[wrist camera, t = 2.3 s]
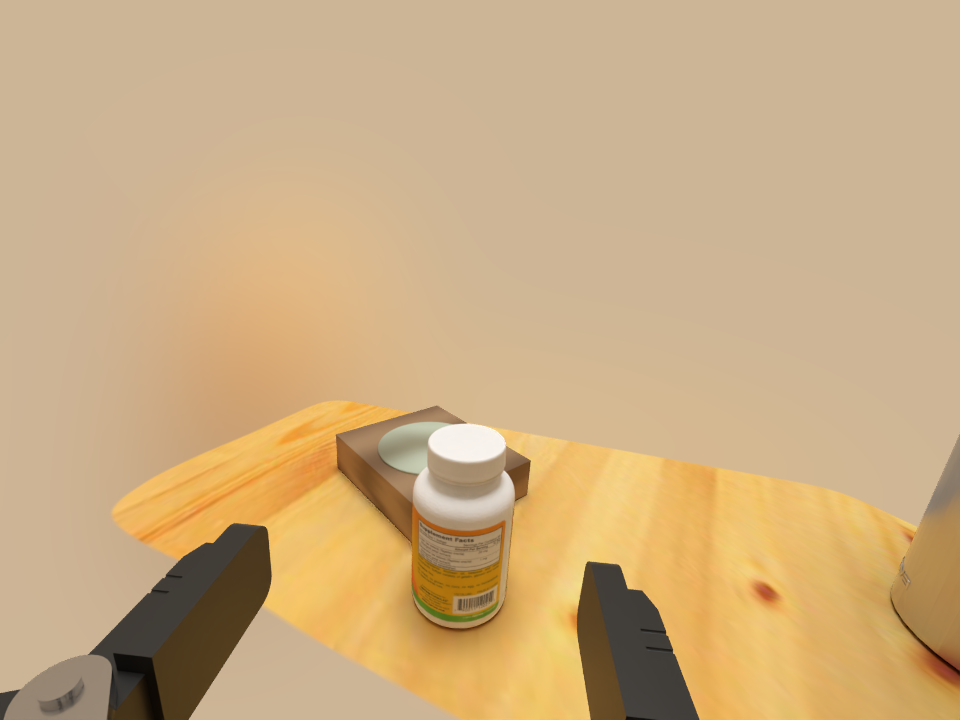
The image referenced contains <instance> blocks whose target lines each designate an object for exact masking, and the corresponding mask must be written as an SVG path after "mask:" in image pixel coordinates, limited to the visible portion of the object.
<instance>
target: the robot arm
mask: <svg viewBox="0 0 960 720" xmlns="http://www.w3.org/2000/svg"><path fill="white" fill-rule="evenodd" d="M271 577H272V575H271V562H270V551H269V539H268V531H267V529H266V527H264V526H257V525H248V524H238V523H234V524H232V525H230V526H229V527H228V528H227V529H226V530H225V531H224V532H223V533H222V534H221V536H220V537H219V538H218V539H217V540H216V541H215V542H214V543H205V544H203V545H201V546H200V547H198V548H197V549H195V550H193V551H192V552H190V553H189V554H187V555H185V556H184V557H183V558H182V559H181V560H180V561H179V562H178V563H177V564H176V565H175V566H174V567H173V568H172V569H171V570H170V571H169V572H168V573H167V574H166V577H165V578H162V579H161V580H160V581H159V583H157V584H156V586H154V588H153V589H152V591H151V593H148V594H147V595H146V596H145V597H144V598H143V599H142V600H141V601H140V602H139V603H138V604H137V605H136V606H135V607H134V608H133V609H132V610H131V611H130V612H129V613H128V614H127V615H126V616H125V618H123V620H122V621H121V622H120V623H119V624H118V625H117V626H116V627H115V628H114V629H113V630H112V631H111V632H110V633H109V634H108V635H107V636H106V637H105V638H104V639H103V640H102V641H101V642H100V643H99V644H98V645H97V646H96V647H95V649H93V650H92V651H91V652H90V654H88V655H83V656H78V657H74V658H71V659H68V660H65V661H63V662H60V663H58V664H56V665H54V666H52V667H50V668H48V669H47V670H45V671H43V672H42V673H40V674H39V675H37V676H36V677H35V678H33V679H32V680H31V681H30V682H28V683H27V684H26V685H25V686H24V687H23V688H22V689H21V690H16V691H10V692H5V693H0V720H189V718H190V716H191V715H192V713H193V712H194V710H195V709H196V707H197V706H198V704H199V702H200V701H201V699H202V698H203V696H204V695H205V693H206V692H207V690H208V689H209V687H210V685H211V684H212V682H213V681H214V679H215V678H216V676H217V675H218V673H219V671H220V670H221V668H222V667H223V665H224V664H225V662H226V661H227V659H228V657H229V656H230V654H231V653H232V651H233V650H234V648H235V646H236V645H237V643H238V642H239V640H240V639H241V637H242V636H243V634H244V632H245V631H246V629H247V628H248V626H249V625H250V623H251V621H252V620H253V619H254V617H255V616H256V614H257V612H258V611H259V609H260V608H261V606H262V605H263V603H264V601H265V599H266V597H267V595H268V592H269V589H270V584H271ZM891 599H892V601H893V604H894V607H895V609H896V611H897V612H898V614H899V615H900V617H901V618H902V620H903V621H904V622H905V623H906V625H907V626H908V627H909V628H910V629H911V630H912V631H913V632H914V633H915V634H916V636H917V637H918V638H919V639H921V640H922V641H923V642H924V643H925V644H926V645H927V646H928V647H930V648H931V649H932V650H933V651H934V652H935V653H936V654H938V655H939V656H940V657H942V658H943V659H944V660H946V661H947V662H948V663H950V664H951V665H952V666H954V667H955V668H956V669H958V670H959V671H960V435H959V437H958V440H957V442H956V444H955V446H954V448H953V451H952V453H951V455H950V457H949V460H948V462H947V464H946V466H945V468H944V471H943V473H942V475H941V477H940V480H939V482H938V484H937V486H936V489H935V491H934V493H933V496H932V498H931V500H930V502H929V504H928V507H927V509H926V511H925V513H924V516H923V518H922V520H921V522H920V524H919V527H918V529H917V531H916V533H915V536H914V538H913V540H912V543H911V545H910V547H909V549H908V552H907V554H906V556H905V557H904V558H903V560H902V562H901V565H900V568H899V572H898V574H897V576H896V579H895V581H894V583H893V585H892V588H891ZM577 634H578V642H579V649H580V655H581V661H582V667H583V674H584V680H585V686H586V692H587V698H588V705H589V711H590V717H591V720H699V717H698V715H697V712H696V709H695V707H694V704H693V701H692V699H691V696H690V693H689V691H688V688H687V686H686V683H685V680H684V678H683V675H682V672H681V670H680V667H679V664H678V662H677V659H676V656H675V654H673V648H672V646H671V643H670V640H669V638H668V636H666V630H665V627H664V625H663V622H662V619H661V617H660V614H659V611H658V609H657V608H656V607H655V606H654V604H653V603H652V602H651V601H650V600H649V598H648V597H647V596H646V595H645V594H644V592H643V591H640V590H631V589H627V585H626V582H625V579H624V576H623V573H622V570H621V567H620V566H619V565H617V564H608V563H598V562H587V564H586V567H585V572H584V578H583V584H582V589H581V595H580V601H579V606H578V614H577Z"/></svg>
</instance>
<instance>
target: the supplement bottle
mask: <svg viewBox="0 0 960 720" xmlns="http://www.w3.org/2000/svg"><path fill="white" fill-rule="evenodd" d="M505 464H506V442H505V439H504V438H503V436H502V435H501V434H499V433H498V432H497V431H495V430H493V429H491V428H488V427H485V426H481V425H475V424H454V425H449V426H445V427H442V428H440V429H438V430H436V431H435V432H434V433H433V434H432V435H431V436H430V437H429V440H428V451H427V467H426V468H425V469H424V470H423V471H422V472H421V473H420V474H419V475H418V477H417V479H416V481H415V484H414V487H413V507H412V594H413V598H414V601H415V603H416V605H417V607H418V609H419V610H420V611H421V613H422V614H423V615H424V616H426V617H427V618H428V619H429V620H431V621H433V622H434V623H437V624H439V625H442V626H445V627H449V628H470V627H474V626H477V625H480V624H482V623H484V622H486V621H488V620H489V619H491V618H492V617H493V616H494V615H495V614H496V613H497V612H498V611H499V609H500V608H501V606H502V604H503V601H504V598H505V594H506V588H507V577H508V566H509V555H510V545H511V535H512V525H513V515H514V504H515V490H514V485H513V482H512V480H511V478H510V477H509V475H508V474H507V473H506V472H505V471H504V467H505Z"/></svg>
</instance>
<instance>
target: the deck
mask: <svg viewBox="0 0 960 720" xmlns="http://www.w3.org/2000/svg"><path fill="white" fill-rule="evenodd" d="M454 424H467V423H466V422H464V421H462V420H461V419H459V418H457V417H456V416H454V415H452V414H450V413H449V412H447V411H445V410H444V409H442V408H440V407H438V406H435V407H431V408H427V409H424V410H420V411H417V412H413V413H410V414H406V415H403V416H399V417H396V418H392V419H389V420H385V421H382V422H378V423H375V424H371V425H368V426H364V427H361V428H357V429H354V430H350V431H347V432H343V433H340V434H336V444H337V464H338V468H339V469H340V470H341V471H342V472H343V473H344V474H345V475H346V476H347V477H348V478H349V479H350V480H351V481H352V482H353V483H354V484H355V485H356V486H357V487H358V488H359V489H360V490H361V491H362V492H363V493H364V494H365V495H366V496H367V497H368V498H369V499H370V501H371V502H372V503H373V504H374V505H375V506H376V507H377V508H378V509H379V510H380V511H381V512H382V513H383V514H384V515H385V516H386V517H387V518H388V519H389V520H390V521H391V522H392V523H393V524H394V525H395V526H396V527H397V528H398V529H399V530H400V531H401V532H402V533H403V534H404V535H405V536H406V537H407V538H408V539H409V540H410V541H411V542H412V507H413V487H414V484H415V481H416V479H417V477H418V475H419V474H420V473H421V472H422V471H423V470H424V469H425V468H426V467H427V451H428V440H429V437H430V436H431V435H432V434H433V433H434V432H435V431H436V430H438V429H440V428H442V427H445V426H449V425H454ZM530 462H531V460H529V459H527V458H525V457H524V456H522V455H520V454H519V453H517V452H515V451H514V450H512V449H510V448H508V447H507V446H506V464H505V467H504V471H505V472H506V473H507V474H508V475H509V477H510V478H511V480H512V482H513V485H514V490H515V500H517V499H519V498H521V497H523V496H525V495H526V494H527V489H528V480H529V471H530Z"/></svg>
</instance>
